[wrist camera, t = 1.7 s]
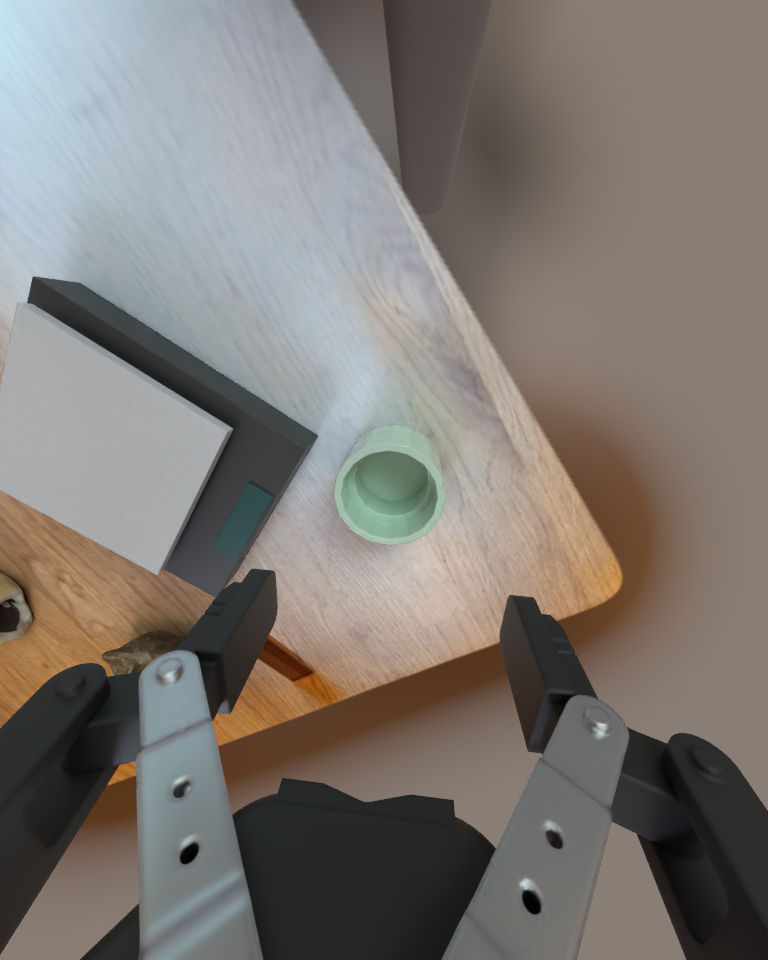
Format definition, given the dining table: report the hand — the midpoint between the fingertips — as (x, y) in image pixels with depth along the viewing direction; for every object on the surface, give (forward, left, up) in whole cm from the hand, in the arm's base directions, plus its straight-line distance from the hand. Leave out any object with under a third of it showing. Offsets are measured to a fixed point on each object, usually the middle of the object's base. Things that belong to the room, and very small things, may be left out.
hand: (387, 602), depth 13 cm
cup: (0, 0, -14) cm, 14 cm away
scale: (+8, -14, -14) cm, 22 cm away
